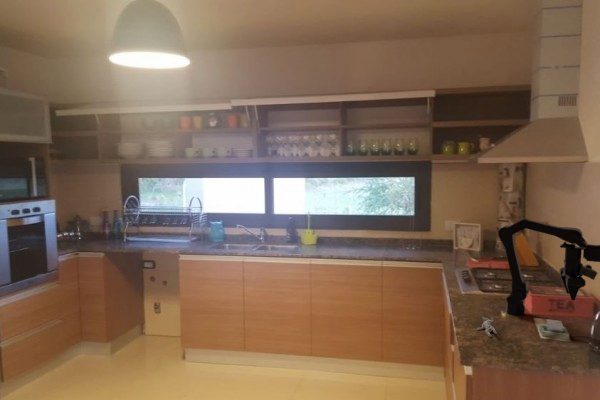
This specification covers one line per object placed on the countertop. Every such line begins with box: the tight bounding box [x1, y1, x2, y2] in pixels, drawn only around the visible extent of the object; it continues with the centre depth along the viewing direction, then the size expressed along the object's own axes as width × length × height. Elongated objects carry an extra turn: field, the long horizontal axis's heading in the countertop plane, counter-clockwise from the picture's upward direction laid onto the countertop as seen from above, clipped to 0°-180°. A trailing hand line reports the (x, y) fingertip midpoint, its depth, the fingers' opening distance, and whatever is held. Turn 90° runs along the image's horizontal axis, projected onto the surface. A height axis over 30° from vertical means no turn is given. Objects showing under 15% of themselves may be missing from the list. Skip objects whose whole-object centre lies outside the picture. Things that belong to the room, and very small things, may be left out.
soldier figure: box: [476, 316, 498, 338], centre depth 181 cm, size 8×5×12 cm
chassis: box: [533, 317, 572, 344], centre depth 181 cm, size 10×23×3 cm, turn 159°
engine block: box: [545, 318, 564, 333], centre depth 175 cm, size 5×4×5 cm
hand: (570, 296), depth 186 cm, fingers open, 9 cm apart
